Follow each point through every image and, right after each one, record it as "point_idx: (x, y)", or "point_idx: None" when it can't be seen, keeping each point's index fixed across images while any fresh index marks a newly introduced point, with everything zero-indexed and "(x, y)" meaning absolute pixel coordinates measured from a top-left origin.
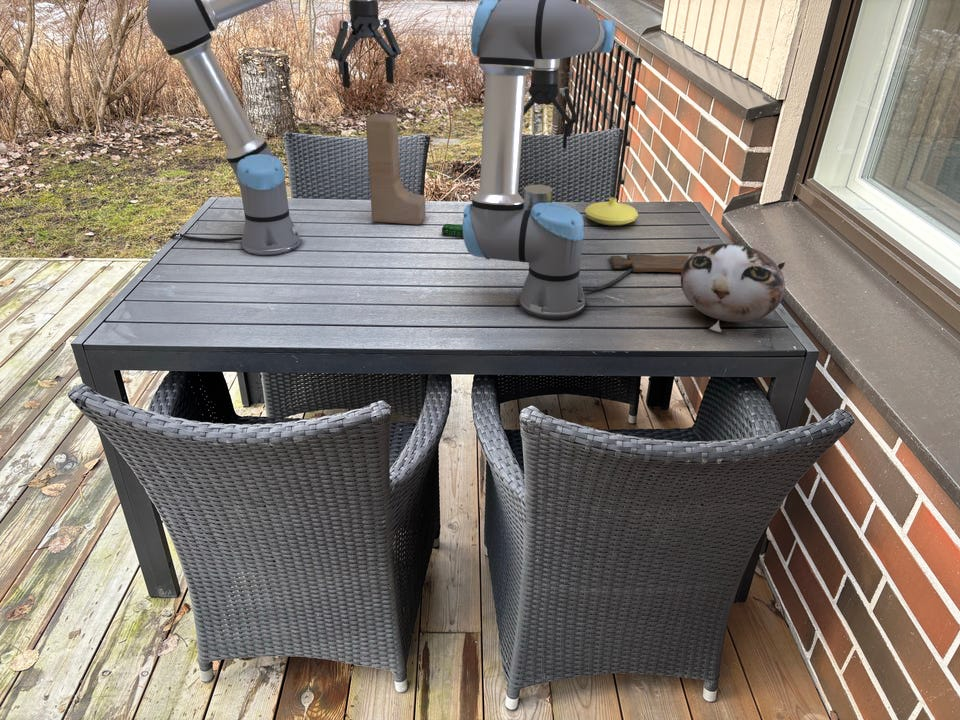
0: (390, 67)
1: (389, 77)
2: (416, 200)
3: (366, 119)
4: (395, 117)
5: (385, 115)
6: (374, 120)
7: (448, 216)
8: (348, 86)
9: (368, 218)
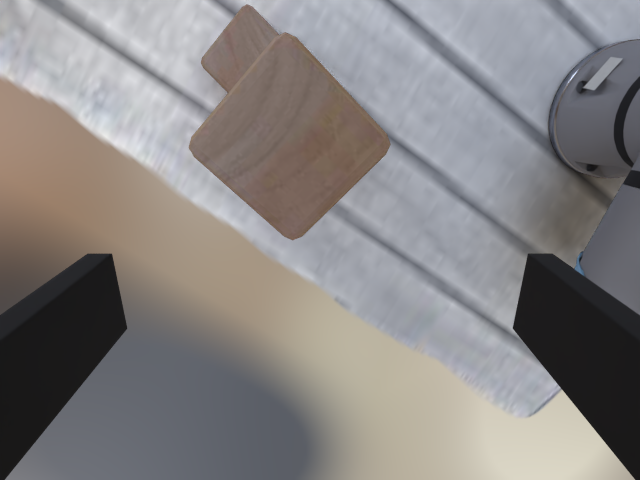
0: (13, 334)
1: (92, 301)
2: (247, 23)
3: (387, 145)
4: (211, 115)
5: (255, 158)
6: (357, 106)
7: (155, 39)
8: (550, 258)
9: None
